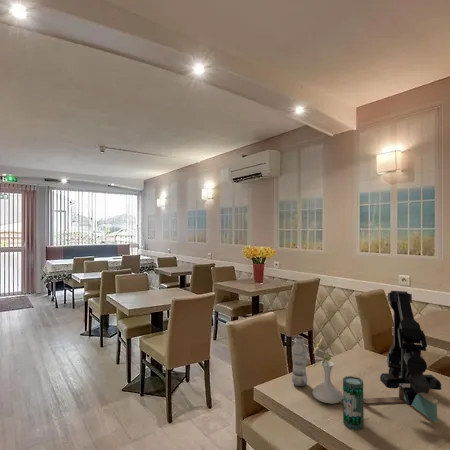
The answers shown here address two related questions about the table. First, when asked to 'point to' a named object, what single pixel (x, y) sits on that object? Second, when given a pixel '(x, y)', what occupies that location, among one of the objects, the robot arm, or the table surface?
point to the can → (353, 403)
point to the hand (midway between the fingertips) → (409, 405)
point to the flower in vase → (326, 381)
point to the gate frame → (385, 400)
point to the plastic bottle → (299, 362)
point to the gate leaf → (426, 405)
